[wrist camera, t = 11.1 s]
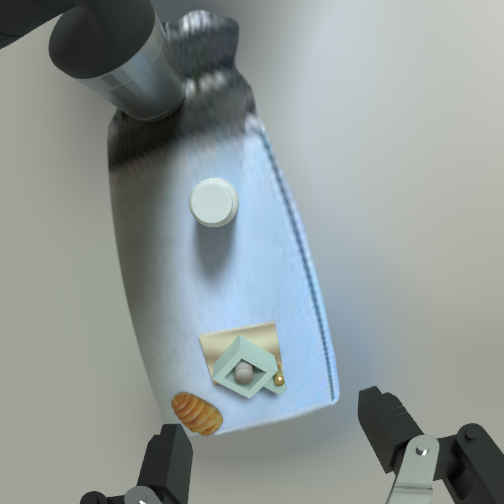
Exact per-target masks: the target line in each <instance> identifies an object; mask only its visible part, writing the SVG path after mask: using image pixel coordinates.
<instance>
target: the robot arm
mask: <svg viewBox="0 0 504 504" xmlns="http://www.w3.org/2000/svg"><path fill="white" fill-rule="evenodd" d="M62 13H63V14H62ZM60 14H62V16H61V17H60V19H59V20H58V22H57V23H56V25H55V27H54V29H53V31H52V34H51V37H50V41H49V55H50V58H51V60H52V62H53V63H54V65H55V66H56V67H57V68H59V69H60V70H61V71H63V72H64V73H66V74H68V75H69V76H71V77H73V78H74V79H76V80H77V81H79V82H80V83H82V84H83V85H85V86H86V87H88V88H89V89H91V90H92V91H94V92H95V93H97V94H99V95H100V96H102V97H103V98H104V99H106V100H107V101H109V102H110V103H112V104H113V105H114V106H116V107H117V108H119V109H120V110H122V111H123V112H124V113H126V114H127V115H129V116H130V117H132V118H133V119H135V120H137V121H140V122H145V123H151V122H157V121H160V120H163V119H165V118H166V117H168V116H170V115H171V114H172V113H174V112H175V111H176V110H177V109H178V107H179V106H180V105H181V103H182V101H183V100H184V97H185V94H186V81H185V78H184V76H183V74H182V71H181V69H180V66H179V64H178V62H177V60H176V57H175V55H174V53H173V50H172V48H171V46H170V44H169V41H168V39H167V37H166V35H165V32H164V30H163V28H162V26H161V24H160V22H159V20H158V17H157V15H156V13H155V10H154V8H153V6H152V4H151V2H150V0H0V49H1V48H4V47H6V46H7V45H10V44H11V43H13V42H15V41H16V40H18V39H19V38H21V37H23V36H24V35H26V34H28V33H29V32H30V31H32V30H34V29H36V28H37V27H39V26H40V25H42V24H44V23H45V22H47V21H49V20H51V19H53V18H54V17H56V16H58V15H60ZM358 400H359V401H358V419H359V422H360V425H361V426H362V428H363V430H364V432H365V434H366V436H367V438H368V440H369V442H370V444H371V446H372V448H373V450H374V451H375V454H376V456H377V458H378V460H379V461H380V463H381V465H382V467H383V469H384V471H385V473H386V474H387V473H389V472H392V471H394V473H395V475H396V477H395V480H394V483H393V486H392V488H391V491H390V494H389V496H388V499H387V501H386V504H429V503H430V500H431V496H432V489H431V485H432V481H435V480H439V479H442V480H443V482H444V484H445V486H446V488H447V490H448V491H449V493H450V495H451V497H452V499H453V501H454V503H455V504H504V454H503V453H502V452H501V450H500V449H499V448H498V446H497V445H496V444H495V443H494V441H493V440H492V439H491V437H490V436H489V435H488V434H487V432H486V431H485V430H484V429H483V428H482V426H480V425H478V424H474V423H471V424H466V425H464V426H463V427H461V428H460V429H459V431H458V433H457V434H456V435H452V436H448V437H444V438H434V437H433V436H430V435H425V434H424V433H423V432H422V431H421V429H420V428H419V427H418V425H417V424H416V422H415V421H414V420H413V418H412V417H411V416H410V414H409V413H408V412H407V410H406V409H405V407H404V406H402V403H401V402H400V401H399V399H398V398H397V397H396V396H394V395H392V394H390V393H389V392H387V393H385V394H381V392H380V391H379V389H378V388H377V387H376V386H372V387H370V388H367V389H364V390H361V391H360V392H359V399H358ZM192 456H193V450H192V445H191V443H190V441H189V439H188V437H187V435H186V433H185V431H184V429H183V427H182V426H181V424H164V425H163V426H162V429H161V433H160V435H154V436H153V438H152V439H151V440H150V441H149V442H148V445H147V449H146V453H145V456H144V460H143V463H142V467H141V471H140V475H139V478H138V482H137V485H136V487H133V488H131V489H130V490H128V491H127V493H126V494H125V495H122V496H114V497H105V496H104V495H103V494H102V493H100V492H96V491H92V492H88V493H86V494H85V495H84V496H83V497H82V498H81V501H80V504H187V503H188V493H189V484H190V475H191V466H192Z"/></svg>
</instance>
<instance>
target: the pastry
mask: <svg viewBox="0 0 504 504" xmlns="http://www.w3.org/2000/svg"><path fill="white" fill-rule="evenodd" d="M171 403H172V404H171V405H172V407H173V409H174V412H175V414H177V415H178V418H179V420H181V421H182V423H183V424H184V425H185V426H186V427H189V429H190V430H191V431H192V432H198V433H200V434H201V435H202V436H208V435H210V434H212V433H214V432H215V431H216V430H217V429H218V428H219V427H220V426H221V424H222V422H223V417H222V415H221V414H220V412H219V410H218V409H217V408H215V407H214V405H212V404H210V403H209V402H206V401H205V400H203V399H201V398H199V397H197V396H195V395H193V394H189V393H186V392H181V393H179V394H177V395H175V397H174V398H173V399H172V401H171Z"/></svg>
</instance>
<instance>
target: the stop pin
mask: <svg viewBox="0 0 504 504" xmlns="http://www.w3.org/2000/svg"><path fill="white" fill-rule="evenodd" d="M277 368H278V371H277V372H276V373H275V374H274V375H273V376H274V381H275V384H276V385H277V386H282V385H283V384H284V383H285V380H284V377H283V373H282V369H281V366H280V365H279V364H277Z"/></svg>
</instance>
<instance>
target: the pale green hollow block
mask: <svg viewBox="0 0 504 504" xmlns="http://www.w3.org/2000/svg"><path fill="white" fill-rule="evenodd" d="M241 359H244V360H245V361H247V362H249V363H251V364H252V365H254V366H255V367H254V368H253V380H252V381H251V382H249V383H247V384H242V383H239V382H237V380H236V379H235V368H234V367H235V366H236V364H237V363H238V362H239V361H240V360H241ZM277 371H278V368H277V364H276V360H275V356H274V355H273V354H271V353H269V352H268V351H266V350H264V349H263V348H261V347H259V346H258V345H256V344H254V343H253V342H251V341H249V340H248V339H246V338H244V337H243V336H241V335H240V334H239V335H238V336H237V338H236V339H235V340H234V341H233V342H232V344H231V345H230V346H229V347H228V348H227V349H226V351H225V352H224V353H223V354H222V355H221V356H220V357H219V359H218V360H217V361H216V362H215V363H214V370H213V380H215V381H216V382H218V383H220V384H222V385H224V386H226V387H228V388H229V389H231V390H233V391H235V392H237V393H239V394H241V395H243V396H245V397H247V398H249V399H250V398H251V397H252V396H253V395H254V394H255V393H256V392H257V391H258V390H259V389H261V388H262V387H265V388H267V389H269V390H271V391H273V392H275V393H277V394H279V395H281V394H282V393H283V392H284V391H286V390H287V385H286V382H285V383H284V384H283V385H282V386H277V385H276V384H275V381H274V376H273V375H274V374H275V373H276V372H277ZM284 380H285V378H284Z"/></svg>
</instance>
